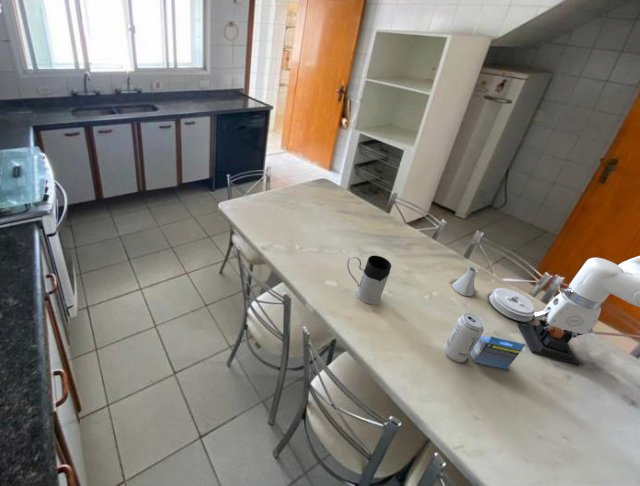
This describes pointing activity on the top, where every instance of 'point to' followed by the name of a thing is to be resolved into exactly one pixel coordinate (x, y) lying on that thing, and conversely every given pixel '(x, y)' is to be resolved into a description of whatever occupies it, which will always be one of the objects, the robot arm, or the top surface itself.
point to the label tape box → (496, 351)
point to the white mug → (372, 279)
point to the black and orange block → (555, 339)
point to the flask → (466, 282)
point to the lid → (512, 304)
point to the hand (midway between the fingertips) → (550, 338)
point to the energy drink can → (464, 337)
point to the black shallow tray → (540, 348)
